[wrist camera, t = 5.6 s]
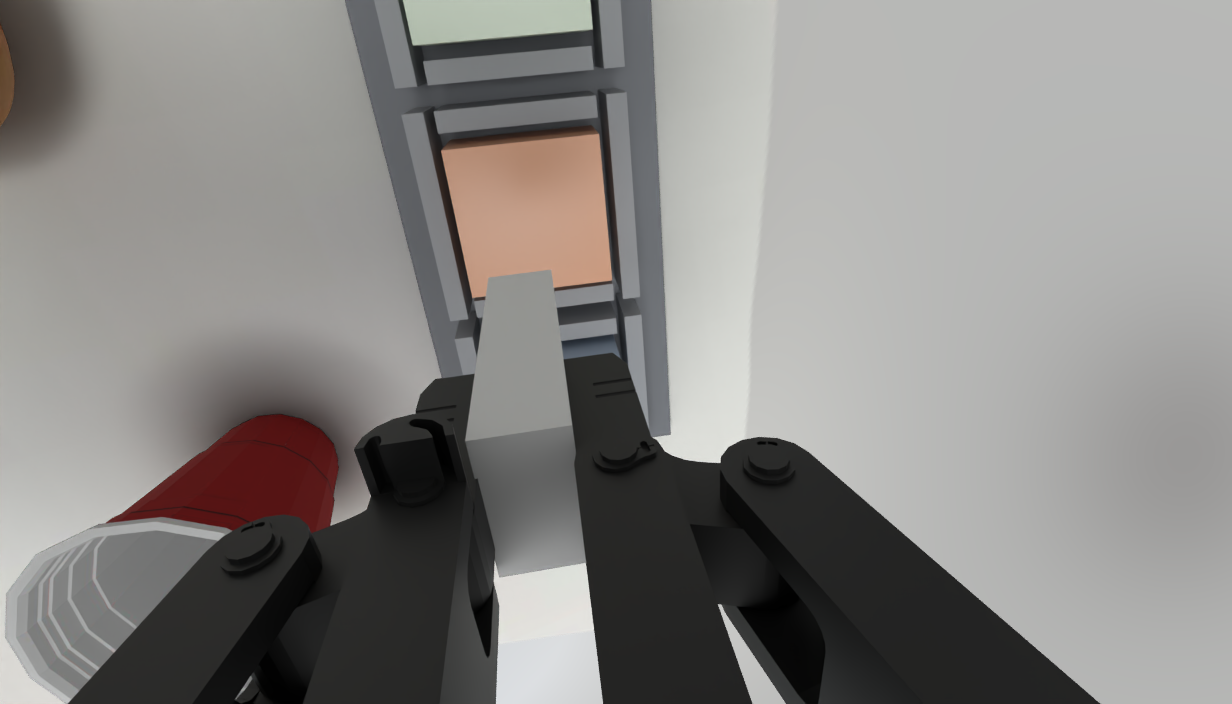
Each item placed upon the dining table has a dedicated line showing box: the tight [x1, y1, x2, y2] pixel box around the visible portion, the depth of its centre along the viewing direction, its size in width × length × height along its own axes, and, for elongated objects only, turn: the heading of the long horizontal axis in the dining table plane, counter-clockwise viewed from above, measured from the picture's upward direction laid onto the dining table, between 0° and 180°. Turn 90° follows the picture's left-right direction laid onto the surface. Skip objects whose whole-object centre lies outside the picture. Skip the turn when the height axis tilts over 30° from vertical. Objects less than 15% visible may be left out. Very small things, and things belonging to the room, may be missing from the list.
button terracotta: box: [441, 125, 612, 298], centre depth 25 cm, size 6×6×3 cm
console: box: [345, 0, 671, 437], centre depth 24 cm, size 38×12×4 cm, turn 5°
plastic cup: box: [5, 414, 339, 704], centre depth 27 cm, size 11×11×12 cm
